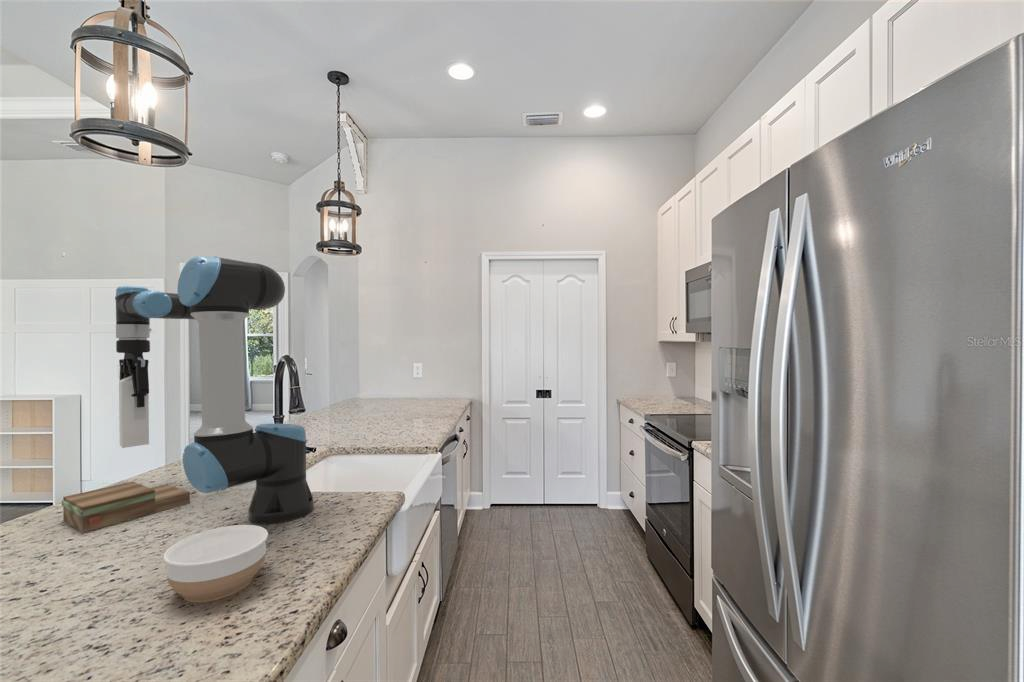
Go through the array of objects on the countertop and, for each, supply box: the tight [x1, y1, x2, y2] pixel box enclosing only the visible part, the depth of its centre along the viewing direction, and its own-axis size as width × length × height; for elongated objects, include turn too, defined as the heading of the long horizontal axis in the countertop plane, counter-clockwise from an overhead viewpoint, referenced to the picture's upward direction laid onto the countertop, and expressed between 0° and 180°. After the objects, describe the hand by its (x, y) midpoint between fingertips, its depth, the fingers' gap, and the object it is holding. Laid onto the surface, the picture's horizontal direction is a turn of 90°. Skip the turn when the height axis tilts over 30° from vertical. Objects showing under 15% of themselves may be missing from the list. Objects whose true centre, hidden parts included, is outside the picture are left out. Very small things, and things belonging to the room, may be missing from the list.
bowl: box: [163, 524, 269, 603], centre depth 81 cm, size 16×16×8 cm
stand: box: [61, 481, 191, 534], centre depth 116 cm, size 14×22×6 cm, turn 149°
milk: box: [118, 376, 150, 449], centre depth 129 cm, size 6×6×22 cm
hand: (134, 417), depth 129 cm, fingers closed on milk, 7 cm apart
